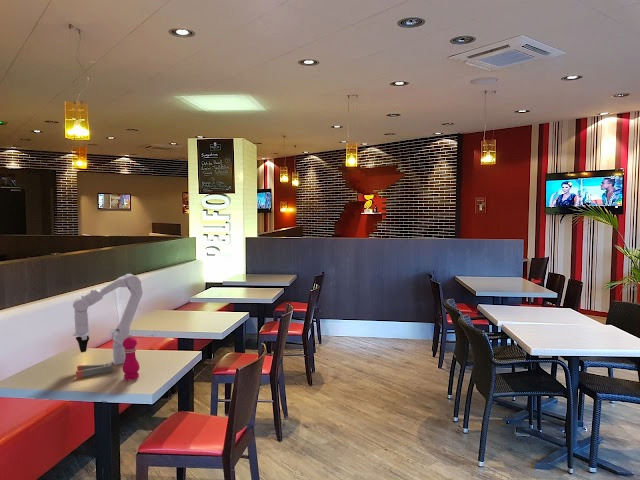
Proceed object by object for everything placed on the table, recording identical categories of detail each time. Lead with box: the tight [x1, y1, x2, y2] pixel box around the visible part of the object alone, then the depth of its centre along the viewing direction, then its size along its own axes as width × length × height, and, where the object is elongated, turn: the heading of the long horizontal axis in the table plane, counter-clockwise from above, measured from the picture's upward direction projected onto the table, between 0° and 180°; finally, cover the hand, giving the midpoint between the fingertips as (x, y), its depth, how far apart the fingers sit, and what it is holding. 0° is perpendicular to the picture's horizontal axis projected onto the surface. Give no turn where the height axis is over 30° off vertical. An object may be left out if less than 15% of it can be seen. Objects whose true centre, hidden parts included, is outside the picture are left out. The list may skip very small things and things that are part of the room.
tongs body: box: [75, 362, 113, 380], centre depth 227 cm, size 16×5×3 cm, turn 123°
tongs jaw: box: [76, 364, 105, 371], centre depth 231 cm, size 12×2×3 cm, turn 93°
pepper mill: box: [122, 333, 140, 381], centre depth 221 cm, size 7×7×20 cm
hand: (83, 351), depth 235 cm, fingers closed
